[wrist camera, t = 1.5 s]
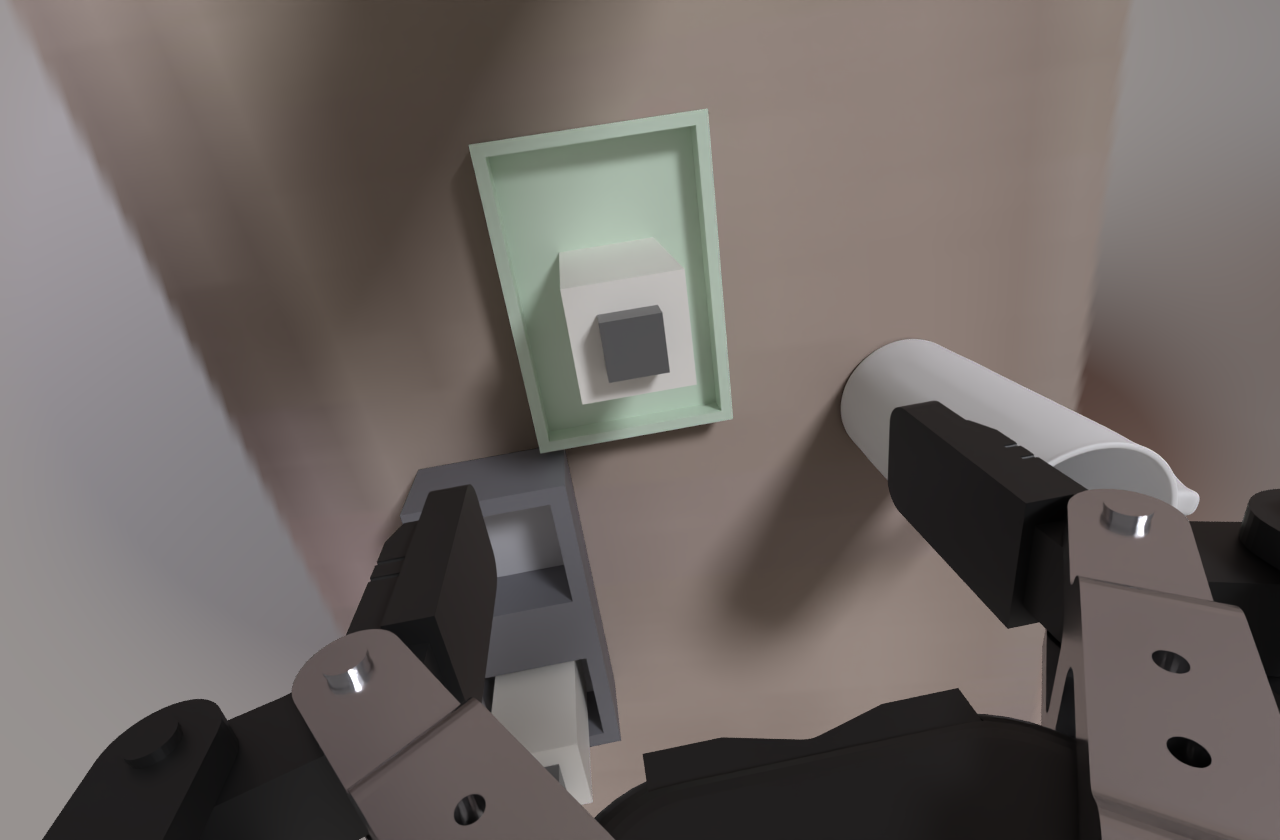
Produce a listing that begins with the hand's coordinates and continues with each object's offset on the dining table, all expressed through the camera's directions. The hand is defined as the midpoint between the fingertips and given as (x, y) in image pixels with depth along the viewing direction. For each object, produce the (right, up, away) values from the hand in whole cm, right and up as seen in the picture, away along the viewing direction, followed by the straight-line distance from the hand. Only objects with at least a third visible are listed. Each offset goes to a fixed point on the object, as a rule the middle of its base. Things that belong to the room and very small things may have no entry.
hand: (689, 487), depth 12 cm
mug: (+14, +3, +20) cm, 24 cm away
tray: (-2, +7, +15) cm, 17 cm away
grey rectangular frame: (-7, -8, +21) cm, 24 cm away
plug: (-2, +7, +15) cm, 17 cm away
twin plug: (-6, -12, +22) cm, 26 cm away
